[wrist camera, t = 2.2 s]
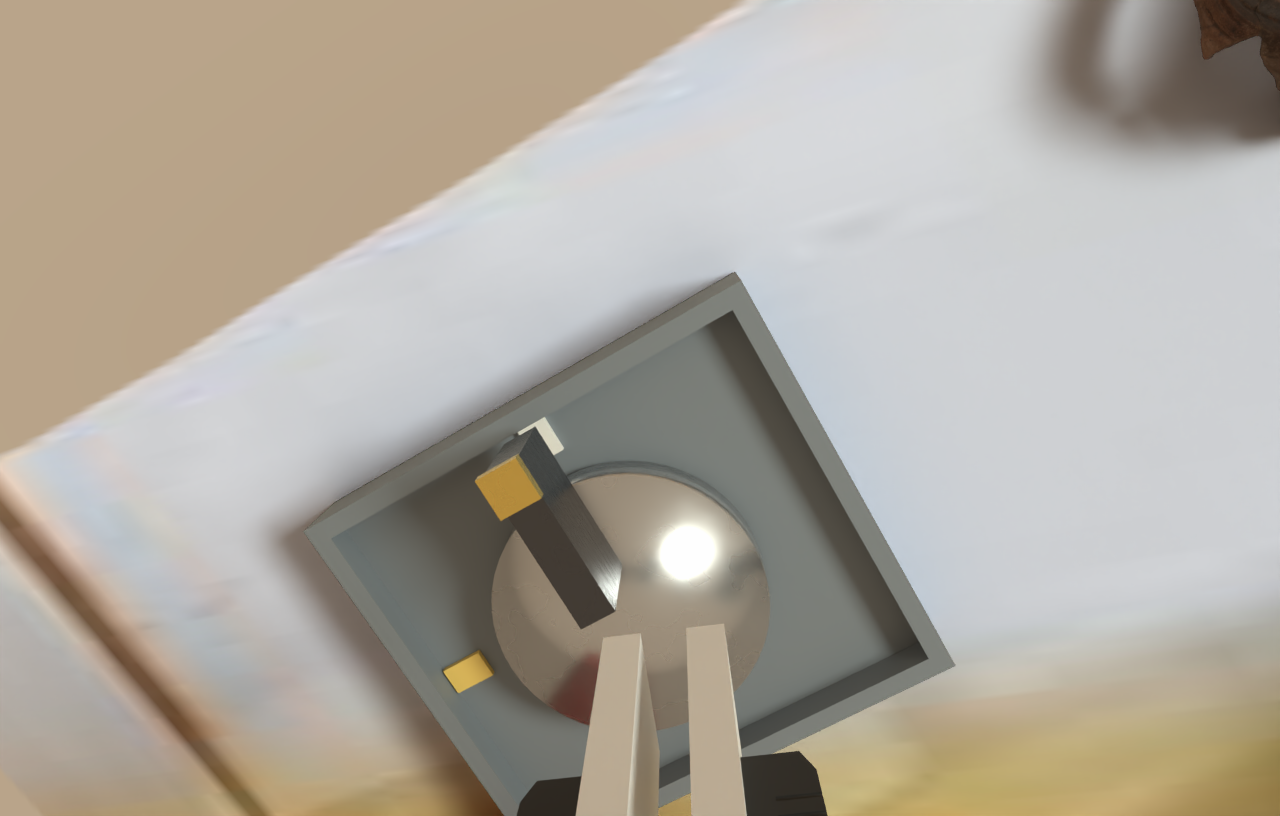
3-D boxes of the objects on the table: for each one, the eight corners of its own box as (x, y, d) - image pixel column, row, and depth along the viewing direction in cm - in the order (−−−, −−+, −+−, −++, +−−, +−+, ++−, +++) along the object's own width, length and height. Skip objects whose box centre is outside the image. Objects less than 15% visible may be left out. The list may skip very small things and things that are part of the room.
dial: (812, 633, 37) (840, 724, 31) (587, 745, 39) (570, 852, 33) (645, 351, 35) (639, 388, 28) (413, 484, 36) (358, 546, 30)
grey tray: (932, 625, 40) (955, 665, 36) (549, 812, 43) (539, 865, 39) (734, 271, 36) (741, 280, 33) (334, 502, 39) (303, 531, 36)
